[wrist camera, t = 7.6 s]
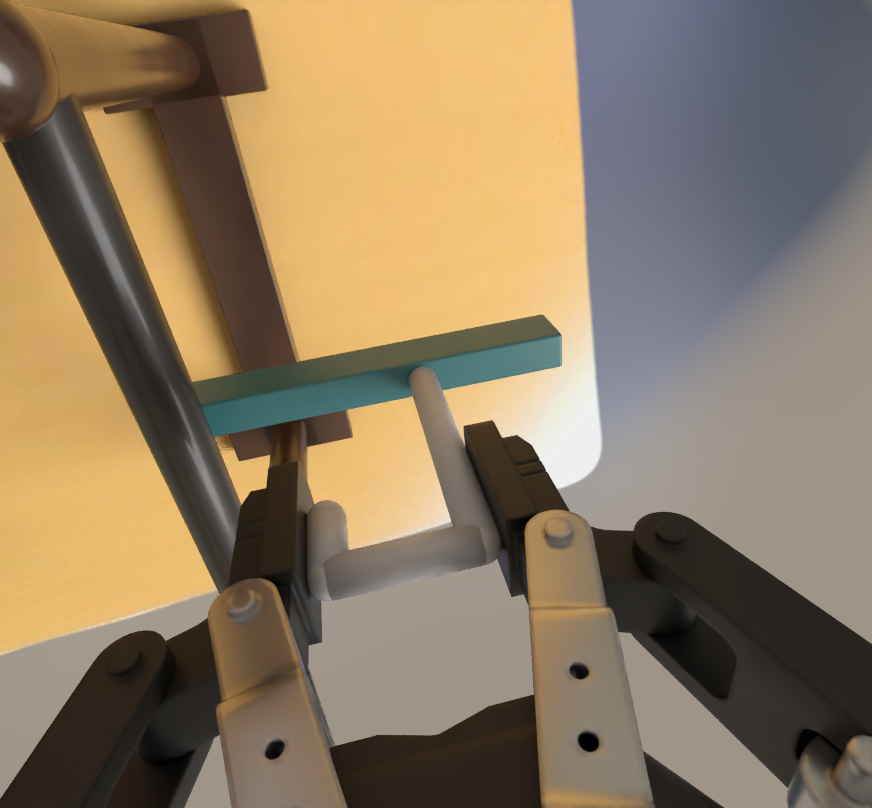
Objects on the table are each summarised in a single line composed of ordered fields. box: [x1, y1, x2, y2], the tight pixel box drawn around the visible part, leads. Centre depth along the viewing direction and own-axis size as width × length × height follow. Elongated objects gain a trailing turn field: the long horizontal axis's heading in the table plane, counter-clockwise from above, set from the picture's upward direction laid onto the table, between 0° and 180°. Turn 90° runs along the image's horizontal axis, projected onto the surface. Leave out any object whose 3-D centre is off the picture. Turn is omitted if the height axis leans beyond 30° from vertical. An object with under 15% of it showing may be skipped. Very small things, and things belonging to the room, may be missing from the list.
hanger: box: [192, 315, 562, 601], centre depth 15 cm, size 13×1×10 cm, turn 97°
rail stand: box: [0, 0, 353, 594], centre depth 22 cm, size 7×22×20 cm, turn 7°
